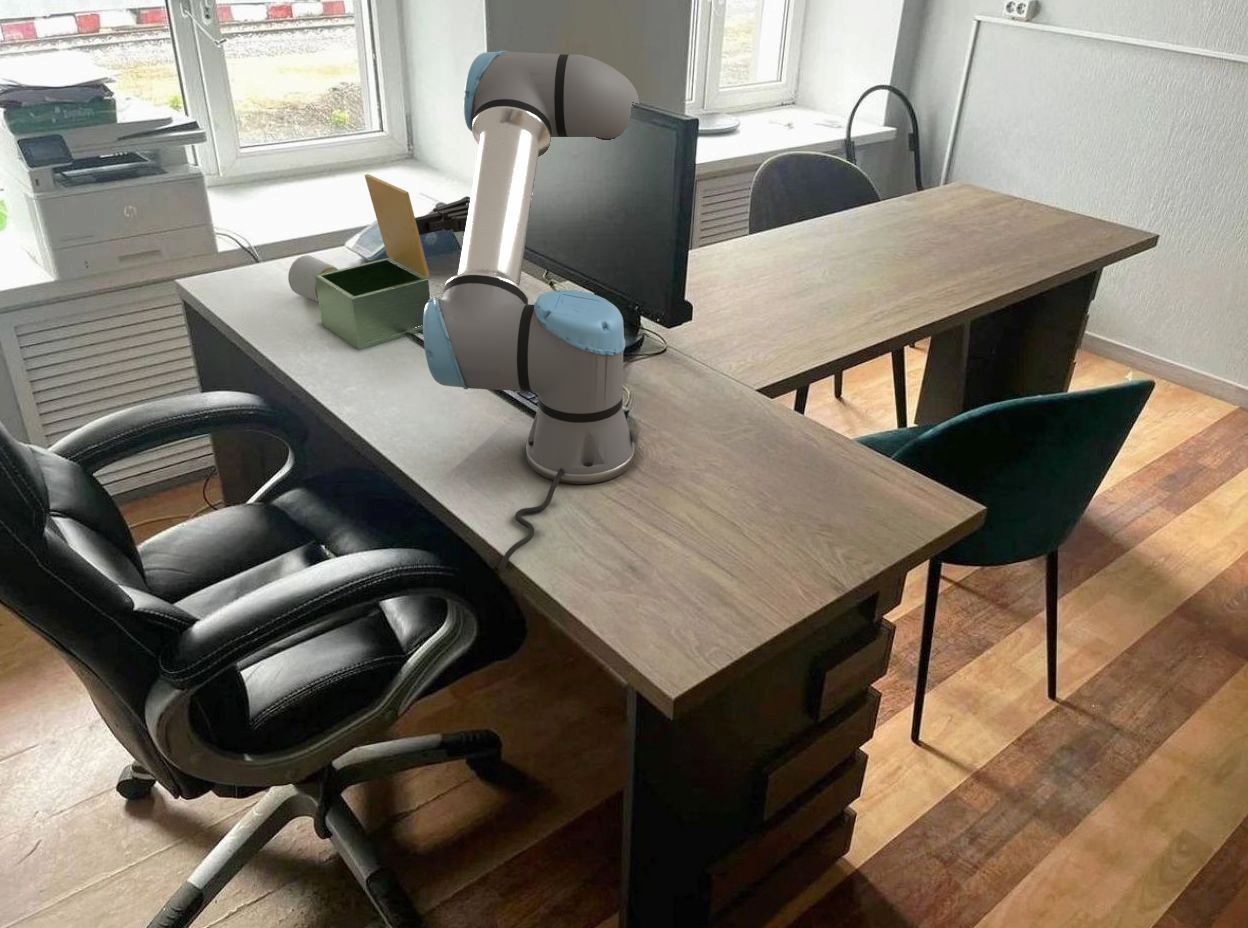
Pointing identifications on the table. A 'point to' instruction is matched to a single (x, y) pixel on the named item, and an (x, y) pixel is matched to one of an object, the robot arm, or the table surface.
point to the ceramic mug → (307, 275)
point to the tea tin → (372, 302)
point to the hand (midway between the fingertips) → (407, 228)
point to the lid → (397, 224)
